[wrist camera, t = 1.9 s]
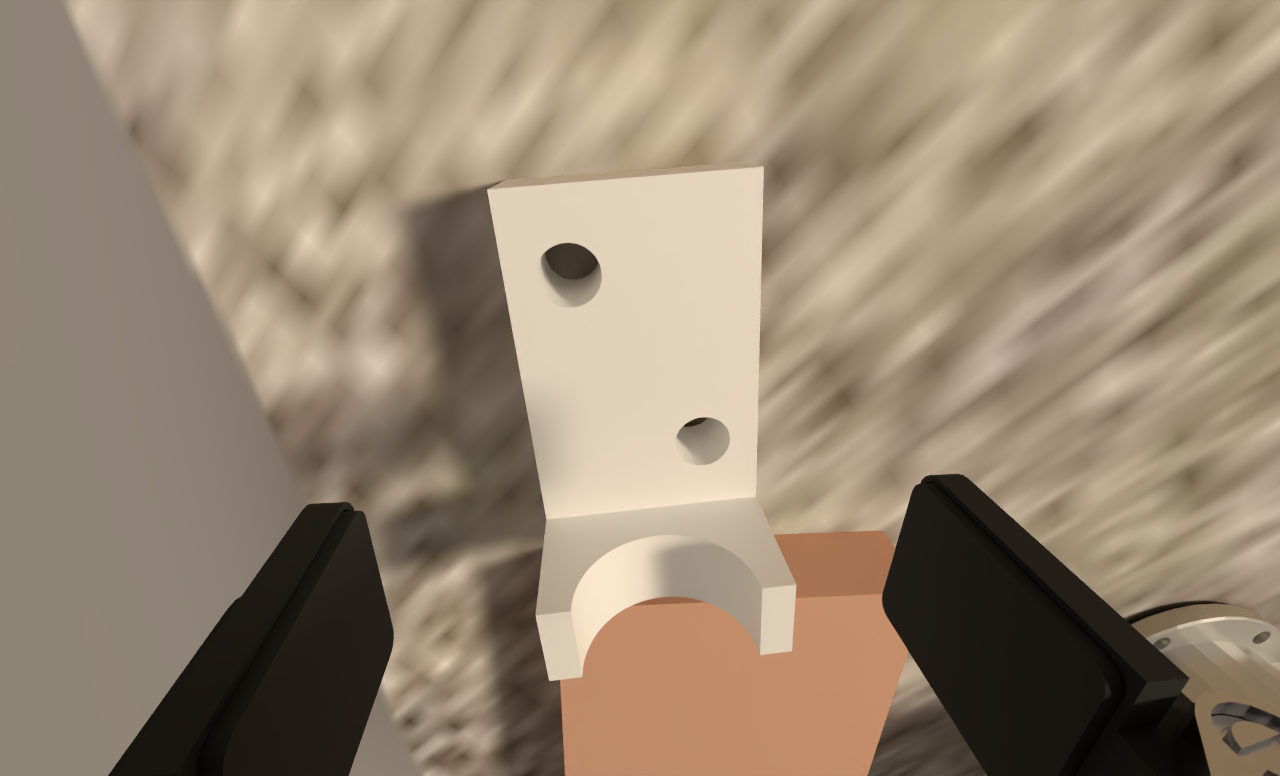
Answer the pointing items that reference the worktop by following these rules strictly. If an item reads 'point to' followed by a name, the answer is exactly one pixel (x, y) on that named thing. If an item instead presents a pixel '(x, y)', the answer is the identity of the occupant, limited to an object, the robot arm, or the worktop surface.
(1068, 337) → the worktop surface
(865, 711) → the riser block
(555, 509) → the bracket
